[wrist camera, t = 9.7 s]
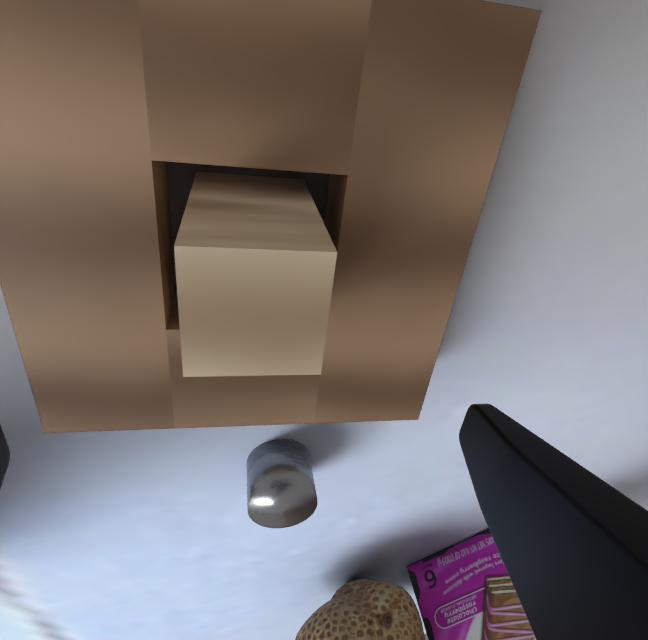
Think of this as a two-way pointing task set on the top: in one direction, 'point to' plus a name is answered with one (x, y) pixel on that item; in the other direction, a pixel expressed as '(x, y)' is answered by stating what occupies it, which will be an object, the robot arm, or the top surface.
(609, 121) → the top surface
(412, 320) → the hole block
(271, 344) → the tan cardboard cuboid
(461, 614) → the candy bar box
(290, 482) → the grey metal cylinder
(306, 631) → the natural sponge
